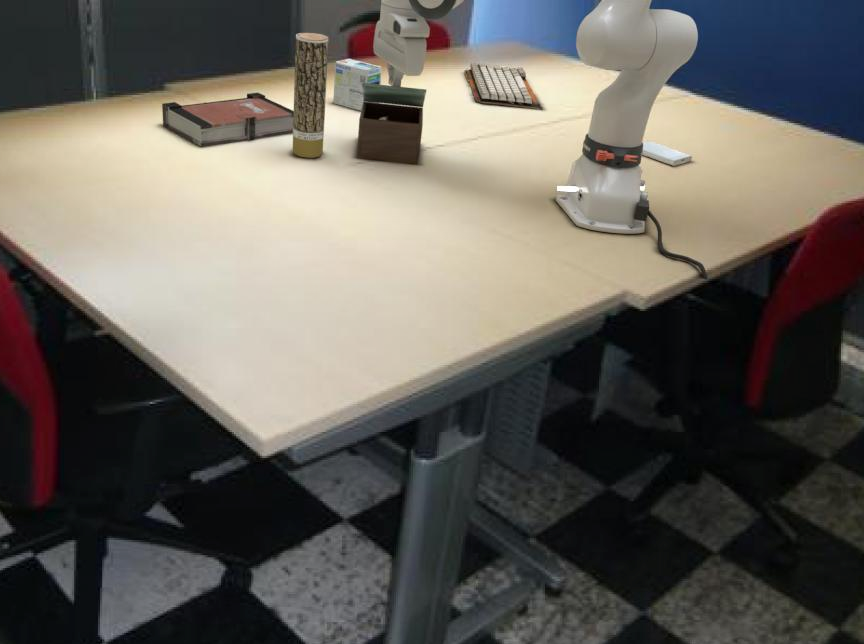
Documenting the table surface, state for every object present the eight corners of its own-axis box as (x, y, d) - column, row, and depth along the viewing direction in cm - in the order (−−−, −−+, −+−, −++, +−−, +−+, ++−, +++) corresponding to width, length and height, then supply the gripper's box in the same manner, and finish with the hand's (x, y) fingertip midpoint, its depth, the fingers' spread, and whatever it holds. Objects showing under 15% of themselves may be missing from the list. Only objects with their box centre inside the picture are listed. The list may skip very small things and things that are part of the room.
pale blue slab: (426, 92, 196) (426, 89, 195) (361, 85, 195) (362, 82, 195) (423, 107, 210) (423, 104, 210) (363, 101, 210) (363, 98, 210)
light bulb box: (379, 108, 239) (383, 65, 233) (365, 112, 234) (368, 69, 228) (346, 99, 243) (349, 57, 237) (332, 103, 238) (334, 61, 232)
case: (418, 164, 204) (422, 125, 199) (356, 157, 203) (359, 118, 198) (418, 144, 215) (422, 107, 211) (360, 138, 215) (363, 101, 210)
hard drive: (632, 145, 226) (674, 159, 219) (650, 140, 231) (692, 154, 224) (630, 151, 227) (672, 166, 220) (649, 147, 232) (691, 161, 225)
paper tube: (328, 155, 202) (335, 38, 189) (306, 161, 198) (311, 41, 184) (308, 147, 206) (313, 31, 192) (286, 152, 202) (289, 34, 188)
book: (202, 147, 199) (202, 125, 196) (163, 125, 209) (162, 103, 207) (299, 133, 214) (299, 111, 212) (257, 112, 225) (258, 92, 222)
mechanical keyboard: (542, 109, 253) (545, 97, 251) (475, 104, 251) (477, 91, 250) (522, 76, 284) (524, 65, 283) (462, 71, 283) (464, 60, 281)
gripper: (369, 8, 198) (364, 73, 206) (405, 30, 183) (398, 99, 190) (395, 9, 200) (389, 73, 208) (433, 30, 185) (425, 99, 193)
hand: (394, 86), depth 199 cm, fingers closed
